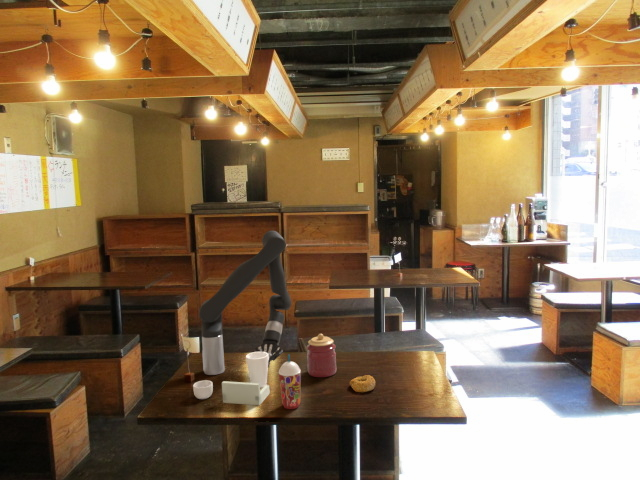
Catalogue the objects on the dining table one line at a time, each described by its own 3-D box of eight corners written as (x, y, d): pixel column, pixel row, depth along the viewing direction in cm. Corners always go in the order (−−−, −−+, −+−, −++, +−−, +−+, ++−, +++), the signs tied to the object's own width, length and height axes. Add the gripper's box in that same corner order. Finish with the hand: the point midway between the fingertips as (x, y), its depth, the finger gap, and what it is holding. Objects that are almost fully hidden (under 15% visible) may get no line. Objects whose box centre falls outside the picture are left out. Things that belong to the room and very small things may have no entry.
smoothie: (299, 411, 179) (296, 358, 177) (277, 410, 181) (274, 358, 179) (304, 401, 187) (302, 351, 185) (283, 401, 189) (281, 350, 187)
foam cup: (273, 381, 209) (272, 352, 207) (264, 390, 200) (262, 359, 199) (253, 380, 212) (252, 350, 210) (243, 388, 203) (241, 358, 202)
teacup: (212, 400, 193) (211, 387, 192) (192, 401, 192) (191, 388, 191) (215, 390, 203) (214, 377, 202) (196, 391, 202) (195, 379, 201)
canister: (337, 377, 210) (335, 337, 209) (307, 378, 211) (305, 338, 209) (336, 366, 223) (334, 329, 222) (308, 367, 224) (306, 330, 222)
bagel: (359, 381, 206) (359, 370, 205) (380, 387, 198) (380, 376, 198) (344, 388, 199) (343, 377, 198) (365, 396, 191) (364, 384, 191)
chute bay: (234, 391, 200) (233, 372, 200) (269, 393, 197) (268, 374, 196) (223, 402, 190) (221, 382, 189) (259, 405, 186) (258, 385, 185)
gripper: (257, 328, 222) (248, 364, 212) (284, 329, 219) (276, 365, 208) (261, 336, 228) (253, 371, 217) (288, 337, 224) (281, 373, 214)
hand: (264, 368), depth 213 cm, fingers closed
